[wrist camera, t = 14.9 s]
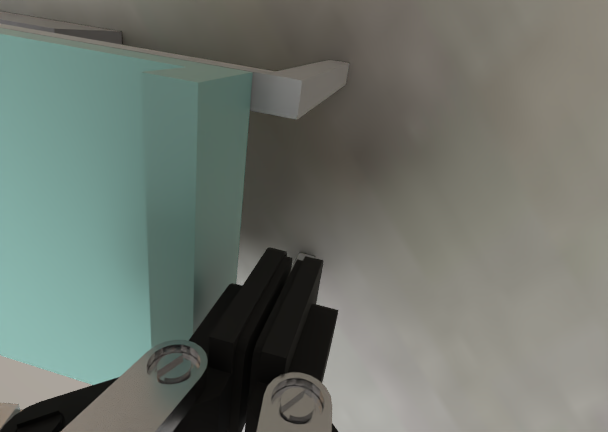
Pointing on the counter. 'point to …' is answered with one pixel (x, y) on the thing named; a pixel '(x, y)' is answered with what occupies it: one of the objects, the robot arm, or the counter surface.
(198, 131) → the lid
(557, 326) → the counter surface
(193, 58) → the housing
